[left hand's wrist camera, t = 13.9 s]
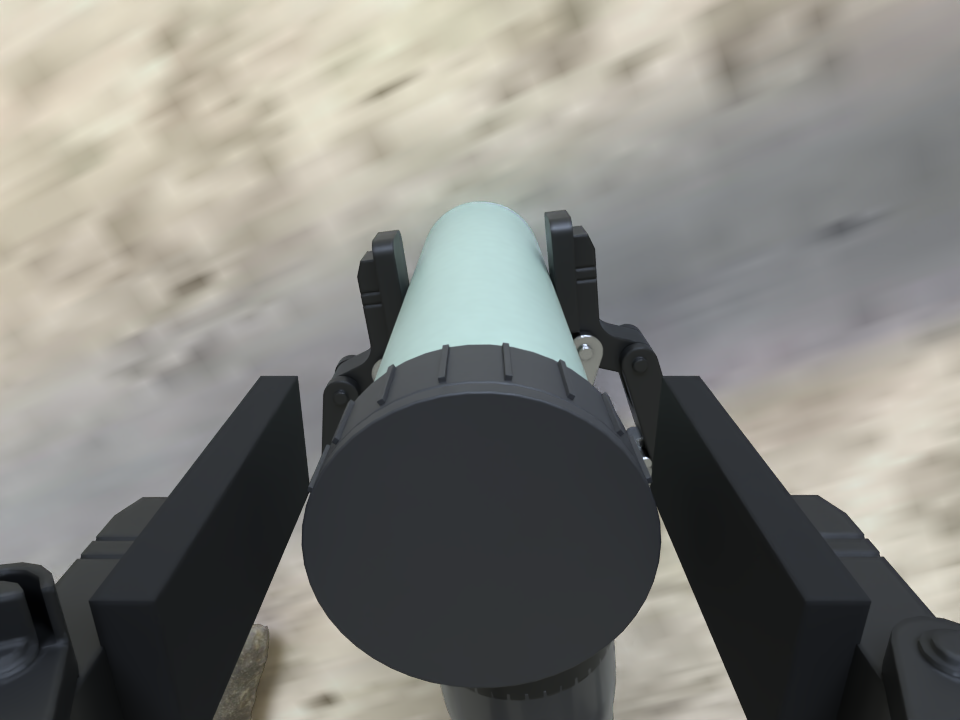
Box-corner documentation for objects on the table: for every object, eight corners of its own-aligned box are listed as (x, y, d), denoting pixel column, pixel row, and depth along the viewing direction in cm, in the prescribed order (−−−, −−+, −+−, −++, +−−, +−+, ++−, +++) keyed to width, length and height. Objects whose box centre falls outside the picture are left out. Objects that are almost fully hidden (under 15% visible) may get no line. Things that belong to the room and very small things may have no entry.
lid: (614, 308, 11) (641, 351, 9) (653, 585, 13) (681, 664, 11) (283, 374, 12) (246, 426, 10) (372, 631, 14) (355, 715, 12)
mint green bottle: (527, 189, 28) (613, 370, 10) (548, 303, 29) (651, 630, 12) (410, 215, 28) (287, 432, 10) (437, 325, 30) (373, 674, 12)
